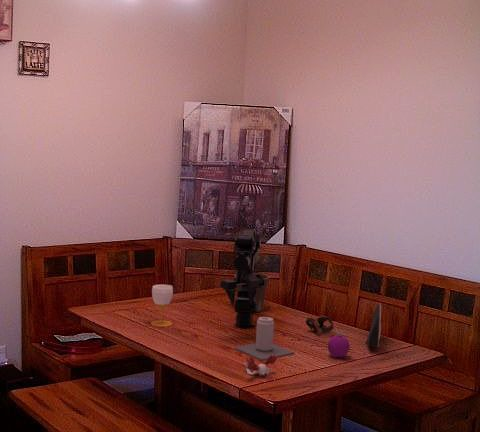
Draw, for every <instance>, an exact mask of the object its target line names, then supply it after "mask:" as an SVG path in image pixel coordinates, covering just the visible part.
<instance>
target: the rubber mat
mask: <svg viewBox="0 0 480 432" xmlns="http://www.w3.org/2000/svg"><path fill="white" fill-rule="evenodd" d="M234 350H236V351H239V352H240V353H243V354H246V355H247V356H249V357H252V356H253V359H256V360H258V361H261V362H263V361H267V360H268V359H269V357H270V355H271V354H272V355H273V356H274V355H276V358H277V359H278V358H280V357H281V358H282V357H286V356H291V355H295V352H294V351H292V350H290V349H287V348H285V347H283V346H280V345H277V344H275V343H273V349H272V350H270V351H268V352H263V351H259V350H258V349H257V348H256V342H255V343H251V344H244V345H240V346H235V347H234ZM270 353H271V354H270Z"/></svg>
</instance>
